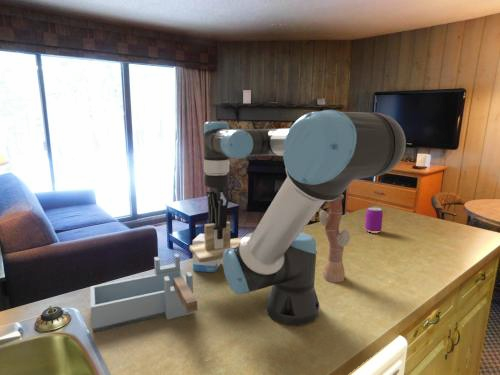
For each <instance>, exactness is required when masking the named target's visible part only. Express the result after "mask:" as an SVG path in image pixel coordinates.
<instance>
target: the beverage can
mask: <svg viewBox="0 0 500 375" xmlns="http://www.w3.org/2000/svg"><path fill="white" fill-rule="evenodd" d="M365 212H366V214H365V227H364V229H365V228H366V229H367V230H370V231H381V232H382V227H383V226H382V225H383V215H384V213H383V210H382V208H380V207H376V206H369V207H368V209H367V210H366V211H365Z"/></svg>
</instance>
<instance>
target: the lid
mask: <svg viewBox="0 0 500 375" xmlns="http://www.w3.org/2000/svg"><path fill="white" fill-rule="evenodd" d="M203 225H204V226H203V228H204V230H203V231H204V233H203V234H204V236H205V243H201V244H195V245H193V244H190V245H188V248H189V251H190V252H191V253H192V255H193V254H194V256H195V257H196V258H197V260H198V261H199V262H208V261H214V260H219V259H221V260H223V253H224V251H225V250H226V249H229V248H231V247H232V248H235V247H237V246H239V244H240V242H241V240H242V239H243V238H244V237H245V236H240V237H234V238H231V222H230V221H229V220H227V225H226V228H224V229H223V248H219V249H215V247H214V229H213V227H215V223H212V224H211V223H205V224H203Z"/></svg>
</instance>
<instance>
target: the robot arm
mask: <svg viewBox="0 0 500 375" xmlns="http://www.w3.org/2000/svg"><path fill="white" fill-rule="evenodd" d="M202 136H203V156H204V157H203V172H204V173H205V174H204V176H203V177H204V186H205V187H206V188H209V191H206V197H207V210H208V211H207V212H208V213H207V214H208V222H209V223H210V224H212V223H215V227H213V229H214V247H215V249H219V248H223V229H224V228H226V225H227V221H228V206H229V203H230V202H229V198H226V192H225V188H228V187H229V185H230V174H229V172H230V165H231V162H230V158H232V159H243V158H244V159H245V158H247V157H259V156H260V157H261V156H276V157H277V156H279V157H283V163H284V166H285V174H286V178H285V180H284V181H283V182H282V184H281V186H280V188H279V189H278V192H277V193H276V195H275V196H274V198H273V200H272V201H271V203H270V205H269V206H268V208H267V210H266V211H265V213H264V215H263V216H262V218H261V219H260V221H259V223H258V224H257V226H256V228H255V230H254V231H252V232H249V233H247V234H246V235H244V236H243V237H244V238H243V239H242V240H241V242H240V244H239V246H237V247H235V248H232V247H231V248H229V249H226V250H225V251H224V253H223V259H222V267H223V273H224V275H225V280H226V282H227V285H228V286H229V287H230V289H231V291H232V292H234V293H235V295H245V294H249V293H252V292H256V291H258V290H259V291H260V290H262V289H265V288H268V287H271V288H270V291H269V295H268V297H267V298H266V313H267V315H268V316H269V317H270V318H272V319H273V320H274V321H277V322H279V323H280V324H283V325H289V326H305V325H308V324H311V323H313V322H314V321H317V319H318V318H319V316H320V302H319V299H318V295H317V292H316V291H317V290H316V288H315V277H316V262H317V241H316V239H315V238H314V237H313V236H312V235H310V234H308V233H305V232H302V231H303V230H304V229H305V228H306V226H307V225H308V224H309V222H310V221H311V220H312V219H313V217H314V216H315V215H316V213H317V212H318V211H319V210H320V209H321V207H322V206H323V204H325V202H328V201H333V200H336V199H337V198H338V197H340V195H343V193H344V192H345V191H346V189H347V188H348V187H349V186H350V184H352V182H354V181H355V180H357V179H365V178H374V177H375V178H376V177H379V176H383V175H385V174H387V173H388V172H390V171H392V170H393V169H394V168H396V166H398V164H400V162H401V160H402V159H403V157H404V154H405V151H406V148H407V147H406V145H407V140H406V135H405V132H404V130H403V128H402V127H401V125H400V124H399V123H398V122H397V120H396V119H394V118H393V117H391V116H389V115H387V114H384V113H380V112H373V111H372V112H360V111H359V112H354V111H339V110H335V109H326V110H325V109H324V110H321V111H320V110H319V111H312V112H311V111H310V112H308V113H305V114H303V115H301V116H300V117H299V118H297V119H296V120H295V122H294V123H293V124H292V125H291V126H290V128H261V129H259V128H257V129H256V128H255V129H254V128H251V129H250V128H245V129H244V128H241V129H240V128H237V129H236V128H230V124H229V122H227V121H206V122H204V124H203V133H202Z"/></svg>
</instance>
